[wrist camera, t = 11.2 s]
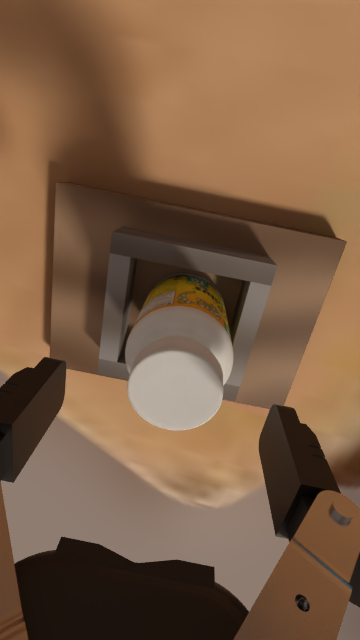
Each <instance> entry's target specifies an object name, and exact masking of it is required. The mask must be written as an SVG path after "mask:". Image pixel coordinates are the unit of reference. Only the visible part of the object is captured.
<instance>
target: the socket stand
mask: <svg viewBox="0 0 360 640" xmlns="http://www.w3.org/2000/svg"><path fill="white" fill-rule="evenodd" d="M346 243H347V242H346V241H344V240H341V239H339V238H335V237H330V236H325V235H321V234H316V233H311V232H306V231H301V230H296V229H291V228H286V227H282V226H277V225H272V224H267V223H262V222H257V221H252V220H247V219H243V218H238V217H233V216H228V215H223V214H218V213H213V212H208V211H204V210H199V209H194V208H189V207H184V206H179V205H174V204H169V203H165V202H160V201H155V200H150V199H145V198H140V197H135V196H130V195H126V194H121V193H116V192H111V191H106V190H101V189H96V188H91V187H86V186H82V185H77V184H72V183H67V182H56V193H55V221H54V250H53V278H52V307H51V335H50V358H52V359H57V360H62V361H65V362H66V369H71V370H76V371H81V372H86V373H91V374H96V375H101V376H106V377H111V378H116V379H121V380H126V381H128V378H129V375H130V374H129V372H128V370H127V366H126V361H125V349H126V344H127V340H128V337H129V335H130V332H131V330H132V328H133V326H134V324H135V322H136V320H137V318H138V316H139V314H140V311H141V309H142V307H143V305H144V303H145V301H146V298H147V296H148V295H149V293H150V291H151V290H152V288H153V287H154V286H155V285H156V284H157V283H158V282H160V281H161V280H162V279H164V278H166V277H168V276H170V275H174V274H178V273H188V274H193V275H196V276H199V277H202V278H204V279H206V280H208V281H209V282H210V283H212V284H213V285H214V286H215V287H216V288H217V290H218V291H219V293H220V294H221V296H222V299H223V301H224V305H225V310H226V316H227V321H228V327H229V331H230V336H231V341H232V346H233V366H232V370H231V373H230V376H229V378H228V380H227V382H226V383H225V384H224V386H223V389H224V391H223V399H222V400H227V401H232V402H237V403H242V404H247V405H252V406H257V407H262V408H267V409H270V408H271V406H272V405H273V404H276V405H281V406H284V403H285V401H286V398H287V395H288V393H289V390H290V388H291V385H292V383H293V380H294V377H295V375H296V372H297V370H298V367H299V364H300V362H301V359H302V357H303V354H304V352H305V349H306V346H307V344H308V341H309V339H310V336H311V333H312V331H313V328H314V326H315V323H316V320H317V318H318V315H319V313H320V310H321V308H322V305H323V302H324V300H325V297H326V295H327V292H328V289H329V287H330V284H331V282H332V279H333V276H334V274H335V271H336V269H337V266H338V264H339V261H340V258H341V256H342V253H343V251H344V248H345V245H346Z"/></svg>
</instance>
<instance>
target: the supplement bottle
mask: <svg viewBox="0 0 360 640" xmlns="http://www.w3.org/2000/svg"><path fill="white" fill-rule="evenodd" d="M125 361H126V366H127V370H128V372H129V374H130V375H129V378H128V384H127V391H128V396H129V400H130V402H131V405H132V406H133V408H134V409H135V411H136V412H137V413H138V414H139V415H140V416H141V417H142V418H143V419H144V420H146V421H147V422H149V423H150V424H153V425H155V426H157V427H160V428H164V429H168V430H187V429H192V428H195V427H198V426H200V425H202V424H204V423H205V422H207V421H208V420H210V419H211V418H212V417H213V416H214V415H215V413H216V412H217V411H218V409H219V407H220V405H221V402H222V399H223V391H224V389H223V386H224V384H225V383H226V382H227V380H228V378H229V376H230V373H231V370H232V366H233V346H232V341H231V336H230V331H229V327H228V321H227V316H226V310H225V305H224V301H223V299H222V296H221V294H220V293H219V291H218V290H217V288H216V287H215V286H214V285H213V284H212V283H210V282H209V281H208V280H206V279H204V278H202V277H199V276H196V275H193V274H188V273H178V274H174V275H170V276H168V277H166V278H164V279H162V280H161V281H160V282H158V283H157V284H156V285H155V286H154V287H153V288H152V290H151V291H150V293H149V295H148V296H147V298H146V301H145V303H144V305H143V307H142V309H141V311H140V314H139V316H138V318H137V320H136V322H135V324H134V326H133V328H132V330H131V332H130V335H129V337H128V340H127V344H126V349H125Z"/></svg>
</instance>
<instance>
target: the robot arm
mask: <svg viewBox="0 0 360 640" xmlns="http://www.w3.org/2000/svg"><path fill="white" fill-rule="evenodd" d="M65 380H66V362H65V361H62V360H57V359H52V358H48V357H44V358H43V359H42V360H41V361H40V362H39V363H38V365H37V366H36V367H35V368H29V367H27V368H25V369H23V370H21V371H19V372H17V373H14V374H13V375H12V376H11V377H10V378H9V379H8V380H7V381H6V383H5V384H3V386H1V388H0V481H1V480H4V481H8V482H14V481H15V479H16V478H17V476H18V475H19V473H20V472H21V470H22V468H23V467H24V465H25V464H26V462H27V461H28V459H29V457H30V456H31V454H32V453H33V451H34V450H35V448H36V447H37V445H38V443H39V442H40V440H41V439H42V437H43V435H44V434H45V432H46V431H47V429H48V428H49V426H50V425H51V423H52V421H53V420H54V418H55V417H56V415H57V414H58V412H59V410H60V409H61V406H62V404H63V400H64V396H65ZM259 453H260V459H261V464H262V469H263V474H264V479H265V484H266V489H267V494H268V499H269V504H270V509H271V514H272V519H273V524H274V529H275V534H276V536H278V537H283V538H287V539H289V544H288V546H287V548H286V550H285V551H284V553H283V555H282V556H281V558H280V560H279V561H278V563H277V565H276V567H275V568H274V570H273V572H272V574H271V576H270V577H269V579H268V581H267V582H266V584H265V586H264V587H263V589H262V591H261V593H260V594H259V596H258V598H257V600H256V601H255V603H254V605H253V607H252V608H251V610H250V612H249V611H248V610H247V609H246V608H245V606H244V605H243V604H242V603H241V602H240V601H239V600H238V599H237V598H236V597H235V596H234V595H233V594H232V593H231V592H230V591H228V590H227V589H225V588H224V587H222V586H221V585H220V584H218V583H216V582H215V581H214V567H210V566H206V565H201V564H196V563H191V562H186V561H181V560H168V561H158V562H146V563H134V562H132V561H130V560H128V559H126V558H124V557H123V556H121V555H119V554H117V553H115V552H113V551H111V550H109V549H107V548H105V547H103V546H102V545H100V544H95V543H90V542H85V541H80V540H75V539H70V538H65V537H61V539H60V541H59V544H58V546H57V549H56V550H52V551H46V552H42V553H38V554H35V555H32V556H29V557H27V558H25V559H23V560H21V561H18V562H17V563H15V564H14V560H13V554H12V548H11V542H10V536H9V530H8V524H7V518H6V512H5V506H4V500H3V494H2V488H1V482H0V640H336V639H337V636H338V633H339V630H340V627H341V623H342V621H343V617H344V614H345V611H346V608H347V605H348V602H349V601H350V602H351V603H353V604H355V605H357V606H358V607H360V508H359V507H358V506H357V505H356V504H355V503H354V502H353V501H352V500H350V499H349V498H348V497H346V496H344V495H343V494H341V492H340V490H339V488H338V485H337V483H336V481H335V479H334V476H333V474H332V472H331V469H330V467H329V465H328V462H327V460H326V459H325V455H324V453H323V451H322V449H321V446H320V444H319V442H318V439H317V437H316V435H315V434H314V433H313V432H312V431H311V429H310V428H309V427H308V426H307V425H306V424H302V423H300V421H299V419H298V416H297V414H296V411H295V409H294V408H291V407H286V406H281V405H276V404H273V405H272V406H271V408H270V411H269V414H268V416H267V419H266V421H265V424H264V427H263V429H262V432H261V435H260V439H259Z"/></svg>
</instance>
